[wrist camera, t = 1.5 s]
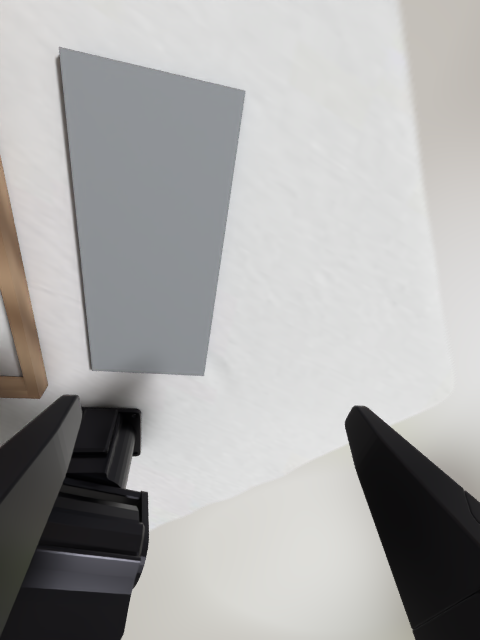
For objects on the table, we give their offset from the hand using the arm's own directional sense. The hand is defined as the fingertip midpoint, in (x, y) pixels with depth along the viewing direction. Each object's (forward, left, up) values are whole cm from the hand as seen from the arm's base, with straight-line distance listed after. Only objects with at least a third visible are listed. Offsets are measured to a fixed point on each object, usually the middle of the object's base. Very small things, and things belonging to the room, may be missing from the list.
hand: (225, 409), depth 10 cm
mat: (0, +4, -13) cm, 14 cm away
